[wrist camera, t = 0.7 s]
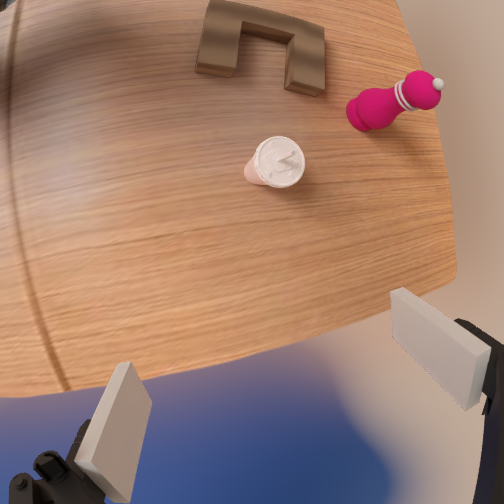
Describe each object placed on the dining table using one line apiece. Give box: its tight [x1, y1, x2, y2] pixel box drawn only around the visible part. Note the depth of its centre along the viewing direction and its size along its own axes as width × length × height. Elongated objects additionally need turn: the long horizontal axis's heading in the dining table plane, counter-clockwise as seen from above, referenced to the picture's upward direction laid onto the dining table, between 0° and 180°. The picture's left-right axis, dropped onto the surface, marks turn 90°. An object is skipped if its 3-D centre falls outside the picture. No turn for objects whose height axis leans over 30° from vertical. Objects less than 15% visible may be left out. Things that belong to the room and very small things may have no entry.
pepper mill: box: [346, 71, 444, 131], centre depth 40 cm, size 7×7×20 cm
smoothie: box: [244, 136, 305, 188], centre depth 39 cm, size 6×6×14 cm
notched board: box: [195, 0, 325, 97], centre depth 42 cm, size 14×20×4 cm
